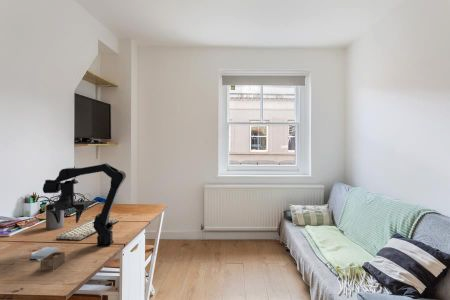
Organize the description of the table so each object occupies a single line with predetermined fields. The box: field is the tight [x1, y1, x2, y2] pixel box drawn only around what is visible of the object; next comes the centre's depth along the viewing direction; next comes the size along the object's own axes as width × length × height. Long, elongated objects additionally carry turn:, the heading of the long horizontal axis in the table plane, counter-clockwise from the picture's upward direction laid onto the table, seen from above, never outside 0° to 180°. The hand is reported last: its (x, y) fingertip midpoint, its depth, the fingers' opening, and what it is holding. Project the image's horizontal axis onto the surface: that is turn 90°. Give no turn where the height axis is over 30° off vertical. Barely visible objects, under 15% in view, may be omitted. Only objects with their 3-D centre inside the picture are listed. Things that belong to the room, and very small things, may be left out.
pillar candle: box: [45, 209, 65, 231], centre depth 167 cm, size 10×10×15 cm
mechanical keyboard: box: [56, 217, 120, 242], centre depth 163 cm, size 38×19×3 cm, turn 175°
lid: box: [29, 246, 59, 260], centre depth 125 cm, size 7×10×1 cm, turn 2°
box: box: [40, 251, 66, 272], centre depth 114 cm, size 5×9×4 cm, turn 2°
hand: (67, 223), depth 136 cm, fingers open, 9 cm apart
